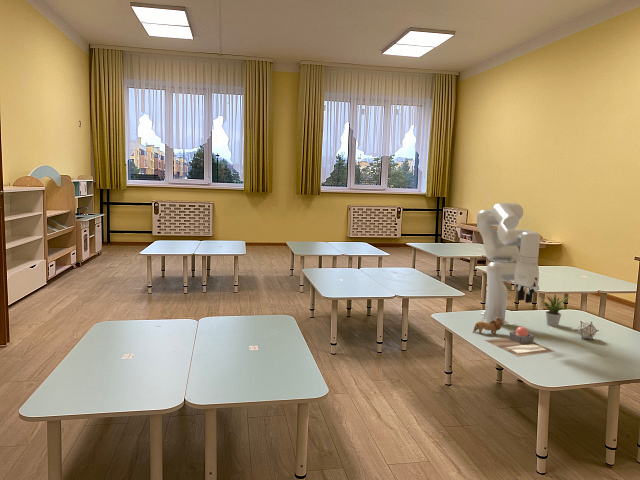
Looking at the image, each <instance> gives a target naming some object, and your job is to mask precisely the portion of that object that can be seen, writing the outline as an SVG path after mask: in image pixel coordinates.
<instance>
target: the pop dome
mask: <svg viewBox="0 0 640 480" xmlns="http://www.w3.org/2000/svg"><path fill="white" fill-rule="evenodd" d="M515 331H516V335H519V336H521V337H523V336H528V333H529V332H528V331H529V330H528V329H527V328H526V327H525V326H518V327H517V328H516V330H515Z"/></svg>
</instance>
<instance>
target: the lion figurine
mask: <svg viewBox="0 0 640 480" xmlns="http://www.w3.org/2000/svg"><path fill="white" fill-rule="evenodd" d="M502 325H503V318H501V317H496V318H495V319H494V320H493V321H491V322H489V323H488V322H483V321H481V320H479V321H477V322H476V323H475V324H474V327H473V331H472V334H475V332H476V331H478V334H479V335H481V334H482V332H483V330H485V331H490V334H493V335H495V336H496V334H497V331H500V330H501V328H502V327H503V326H502Z"/></svg>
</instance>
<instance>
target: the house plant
mask: <svg viewBox="0 0 640 480" xmlns="http://www.w3.org/2000/svg"><path fill="white" fill-rule="evenodd" d="M542 295H544V296H541V297H542V298H543V297H544V299H545V300H548V303H547V302H546V301H544V300H542V299H539V301H540V302H541V303H542V304H543V305H544V306H545V307H546V308H547V309H548V310H547V311H545V318H546V319H545V320H546V325H547V326H549V327H558V326H559V323H560V321H561V317H562V313H561V312H559V311H561V310H565V306H563V303H565V302H566V301H567V299H569V298H570V296H565V297H563V296H561V297H557V293H554V296H553V297H552V296H551V295H550V294H548V295H546V294H544V293H542ZM546 298H547V299H546ZM560 299H561V301H560ZM542 304H540V305H539V306H542Z"/></svg>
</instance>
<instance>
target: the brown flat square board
mask: <svg viewBox="0 0 640 480" xmlns="http://www.w3.org/2000/svg"><path fill="white" fill-rule="evenodd" d="M484 341H485V342H487V343H490V344H491V345H493V346H496V347H498V348H499V349H501V350H504V351H506V352H507V353H510V354H512V355H514V356H516V357H526V356H533V355H539V354H548V353H555V352H556V351H555V350H553V349H551V348H549V347H547V346H544V345H542V344H539V343H537V342H534V341H533V343H526V344H520V343H517V342H515V341H513V340H511V339H509V336H508V337H501V338H492V339H490V338H489V339H484Z"/></svg>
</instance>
